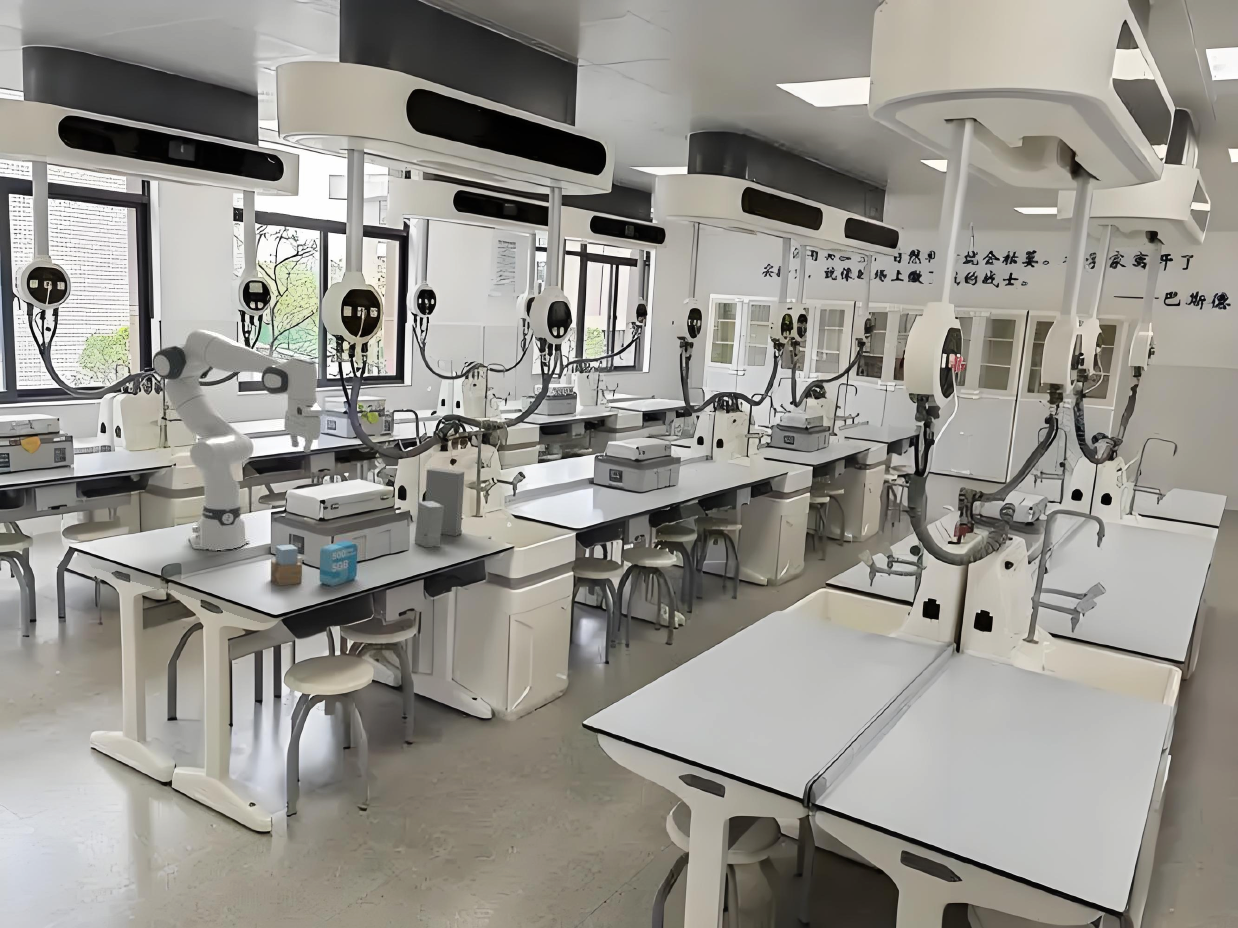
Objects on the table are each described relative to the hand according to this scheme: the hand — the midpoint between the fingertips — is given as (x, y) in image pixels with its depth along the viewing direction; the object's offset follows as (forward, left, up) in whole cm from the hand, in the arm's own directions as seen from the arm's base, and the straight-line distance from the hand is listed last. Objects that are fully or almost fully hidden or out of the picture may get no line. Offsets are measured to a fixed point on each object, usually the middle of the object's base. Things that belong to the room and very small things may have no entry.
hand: (300, 449), depth 299 cm
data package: (+22, +4, -39) cm, 45 cm away
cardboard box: (+15, -10, -39) cm, 43 cm away
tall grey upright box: (-18, +66, -39) cm, 79 cm away
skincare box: (-5, +52, -39) cm, 65 cm away
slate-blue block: (+15, -10, -33) cm, 38 cm away
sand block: (+6, -5, -39) cm, 40 cm away
